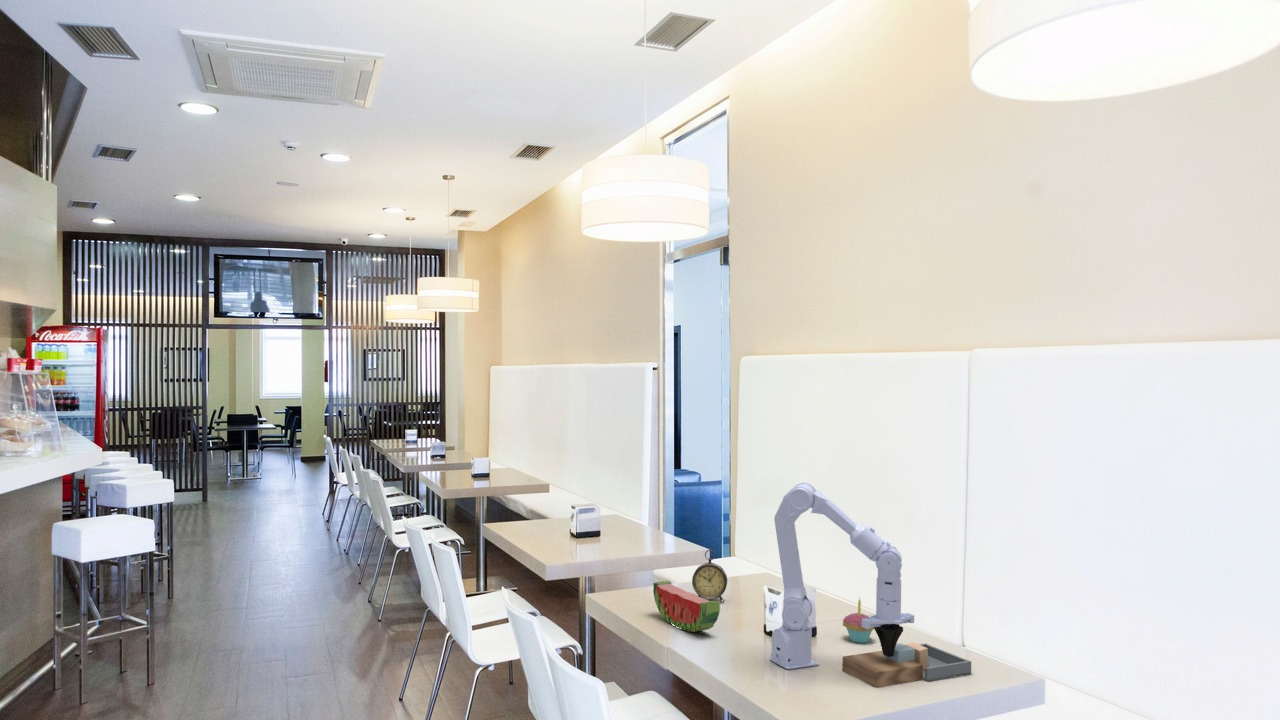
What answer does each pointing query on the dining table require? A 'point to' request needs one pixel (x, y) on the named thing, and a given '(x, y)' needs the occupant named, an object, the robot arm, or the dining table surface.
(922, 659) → the tile sand
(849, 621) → the cupcake
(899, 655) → the pale blue block
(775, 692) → the dining table surface
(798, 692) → the dining table surface
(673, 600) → the fruit slice
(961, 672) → the tray
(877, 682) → the bench board
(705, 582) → the alarm clock
